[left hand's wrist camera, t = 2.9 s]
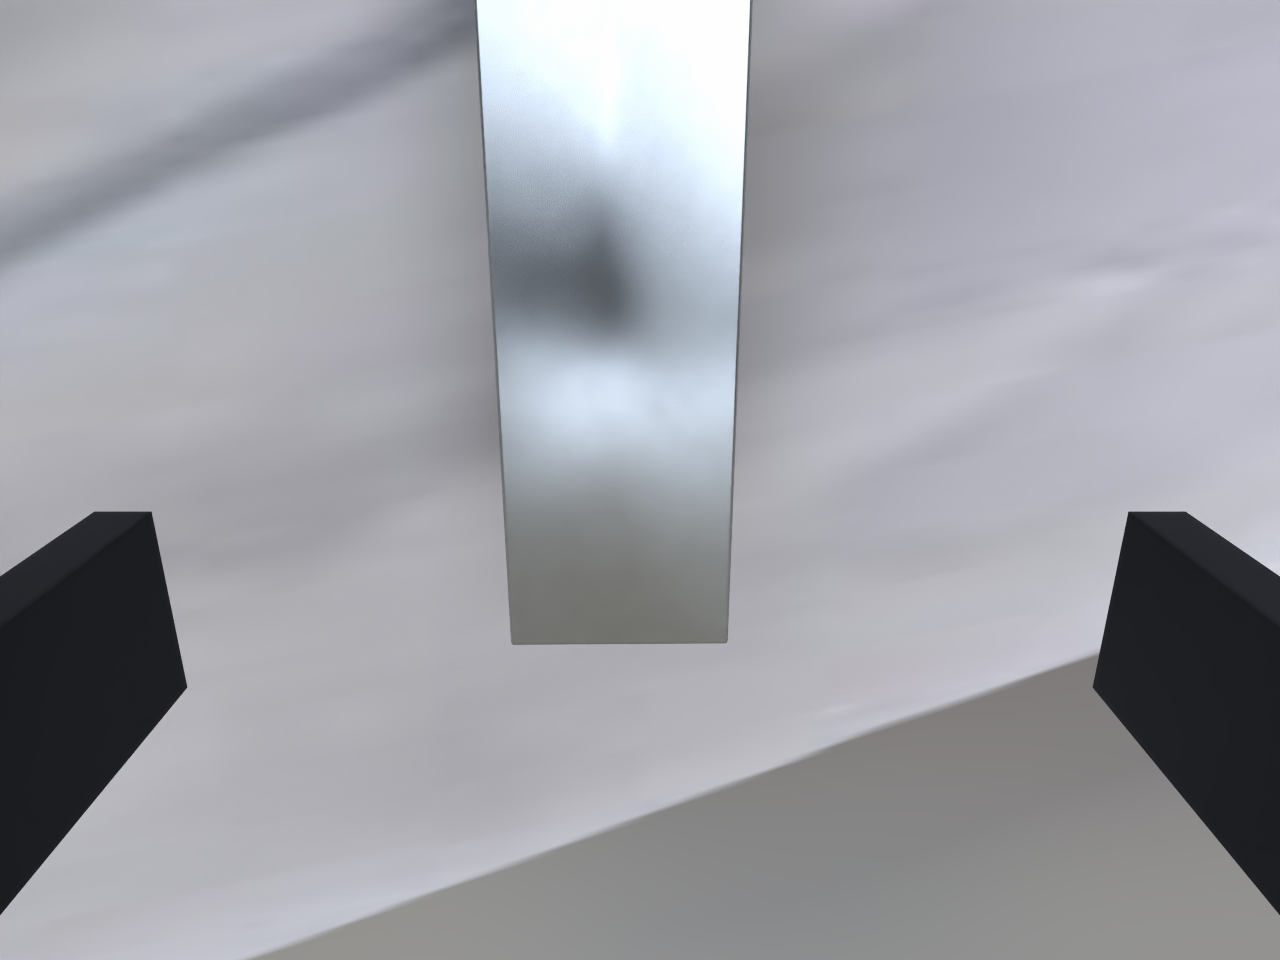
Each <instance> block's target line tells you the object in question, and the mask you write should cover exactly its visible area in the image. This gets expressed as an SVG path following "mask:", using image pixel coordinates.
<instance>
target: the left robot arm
mask: <svg viewBox="0 0 1280 960" xmlns="http://www.w3.org/2000/svg"><path fill="white" fill-rule="evenodd" d="M186 688H187V684H186V679H185V674H184V669H183V664H182V659H181V654H180V649H179V644H178V639H177V635H176V630H175V625H174V620H173V615H172V610H171V605H170V600H169V595H168V590H167V586H166V581H165V576H164V571H163V566H162V561H161V556H160V551H159V546H158V541H157V536H156V532H155V527H154V522H153V517H152V512H93V513H92V514H90V515H89V516H87V517H86V518H85V519H83V520H82V521H80V522H79V523H77V524H76V525H74V526H73V527H71V528H70V529H69V530H67V531H66V532H64V533H63V534H61V535H60V536H58V537H57V538H55V539H54V540H53V541H51V542H50V543H48V544H47V545H45V546H44V547H42V548H41V549H40V550H38V551H37V552H35V553H34V554H32V555H31V556H29V557H28V558H26V559H25V560H24V561H22V562H21V563H19V564H18V565H16V566H15V567H13V568H12V569H10V570H9V571H8V572H6V573H5V574H3V575H2V576H0V915H1V913H2V912H3V911H4V910H5V909H6V907H7V906H8V905H9V904H10V903H11V901H12V900H13V899H14V898H15V896H16V895H17V894H18V893H19V892H20V890H21V889H22V888H23V887H24V885H25V884H26V883H27V882H28V881H29V879H30V878H31V877H32V876H33V875H34V873H35V872H36V871H37V870H38V868H39V867H40V866H41V865H42V864H43V862H44V861H45V860H46V859H47V858H48V856H49V855H50V854H51V853H52V851H53V850H54V849H55V848H56V847H57V845H58V844H59V843H60V842H61V840H62V839H63V838H64V837H65V836H66V834H67V833H68V832H69V831H70V830H71V828H72V827H73V826H74V825H75V823H76V822H77V821H78V820H79V819H80V817H81V816H82V815H83V814H84V812H85V811H86V810H87V809H88V808H89V806H90V805H91V804H92V803H93V802H94V800H95V799H96V798H97V797H98V795H99V794H100V793H101V792H102V791H103V789H104V788H105V787H106V786H107V784H108V783H109V782H110V781H111V780H112V778H113V777H114V776H115V775H116V774H117V772H118V771H119V770H120V769H121V767H122V766H123V765H124V764H125V763H126V761H127V760H128V759H129V758H130V757H131V755H132V754H133V753H134V752H135V750H136V749H137V748H138V747H139V746H140V744H141V743H142V742H143V741H144V739H145V738H146V737H147V736H148V735H149V733H150V732H151V731H152V730H153V729H154V727H155V726H156V725H157V724H158V722H159V721H160V720H161V719H162V718H163V716H164V715H165V714H166V713H167V711H168V710H169V709H170V708H171V707H172V705H173V704H174V703H175V702H176V701H177V699H178V698H179V697H180V696H181V694H182V693H183V692H184V691H185V690H186ZM1093 688H1094V690H1095V691H1096V692H1097V693H1098V694H1099V696H1100V697H1101V698H1102V699H1103V700H1104V702H1105V703H1106V704H1107V705H1108V707H1109V708H1110V709H1111V710H1112V711H1113V713H1114V714H1115V715H1116V716H1117V718H1118V719H1119V720H1120V721H1121V722H1122V724H1123V725H1124V726H1125V727H1126V729H1127V730H1128V731H1129V732H1130V733H1131V735H1132V736H1133V737H1134V738H1135V739H1136V741H1137V742H1138V743H1139V744H1140V745H1141V747H1142V748H1143V749H1144V750H1145V752H1146V753H1147V754H1148V755H1149V757H1150V758H1151V759H1152V760H1153V761H1154V763H1155V764H1156V765H1157V766H1158V767H1159V769H1160V770H1161V771H1162V772H1163V774H1164V775H1165V776H1166V777H1167V778H1168V780H1169V781H1170V782H1171V783H1172V784H1173V786H1174V787H1175V788H1176V789H1177V791H1178V792H1179V793H1180V794H1181V795H1182V797H1183V798H1184V799H1185V800H1186V802H1187V803H1188V804H1189V805H1190V806H1191V808H1192V809H1193V810H1194V811H1195V812H1196V814H1197V815H1198V816H1199V817H1200V819H1201V820H1202V821H1203V822H1204V823H1205V825H1206V826H1207V827H1208V828H1209V830H1210V831H1211V832H1212V833H1213V834H1214V836H1215V837H1216V838H1217V839H1218V840H1219V842H1220V843H1221V844H1222V845H1223V847H1224V848H1225V849H1226V850H1227V851H1228V853H1229V854H1230V855H1231V856H1232V857H1233V859H1234V860H1235V861H1236V862H1237V864H1238V865H1239V866H1240V867H1241V868H1242V870H1243V871H1244V872H1245V873H1246V875H1247V876H1248V877H1249V878H1250V879H1251V881H1252V882H1253V883H1254V884H1255V885H1256V887H1257V888H1258V889H1259V890H1260V892H1261V893H1262V894H1263V895H1264V896H1265V898H1266V899H1267V900H1268V901H1269V903H1270V904H1271V905H1272V906H1273V907H1274V909H1275V910H1276V911H1277V912H1278V913H1279V915H1280V576H1278V575H1277V574H1275V573H1274V572H1272V571H1271V570H1270V569H1268V568H1267V567H1265V566H1264V565H1262V564H1261V563H1259V562H1258V561H1256V560H1255V559H1254V558H1252V557H1251V556H1249V555H1248V554H1246V553H1245V552H1243V551H1242V550H1241V549H1239V548H1238V547H1236V546H1235V545H1233V544H1232V543H1230V542H1229V541H1227V540H1226V539H1225V538H1223V537H1222V536H1220V535H1219V534H1217V533H1216V532H1214V531H1213V530H1211V529H1210V528H1209V527H1207V526H1206V525H1204V524H1203V523H1201V522H1200V521H1198V520H1197V519H1195V518H1194V517H1193V516H1191V515H1190V514H1188V513H1187V512H1128V517H1127V522H1126V527H1125V532H1124V537H1123V541H1122V546H1121V551H1120V556H1119V561H1118V566H1117V571H1116V576H1115V581H1114V586H1113V590H1112V595H1111V600H1110V605H1109V610H1108V615H1107V620H1106V625H1105V630H1104V635H1103V639H1102V644H1101V649H1100V654H1099V659H1098V664H1097V669H1096V674H1095V679H1094V684H1093Z"/></svg>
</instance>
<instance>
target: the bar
mask: <svg viewBox="0 0 1280 960" xmlns="http://www.w3.org/2000/svg"><path fill="white" fill-rule="evenodd" d="M752 4H753V0H474V7H475V25H476V42H477V59H478V77H479V94H480V111H481V129H482V146H483V163H484V181H485V198H486V215H487V233H488V250H489V267H490V285H491V302H492V319H493V337H494V354H495V371H496V388H497V406H498V423H499V440H500V458H501V475H502V492H503V510H504V527H505V544H506V562H507V579H508V596H509V614H510V631H511V643H512V644H514V645H522V644H674V643H726V642H727V640H728V616H729V590H730V565H731V539H732V514H733V488H734V463H735V437H736V412H737V386H738V361H739V335H740V310H741V284H742V259H743V233H744V208H745V182H746V157H747V131H748V106H749V80H750V55H751V29H752Z"/></svg>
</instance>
